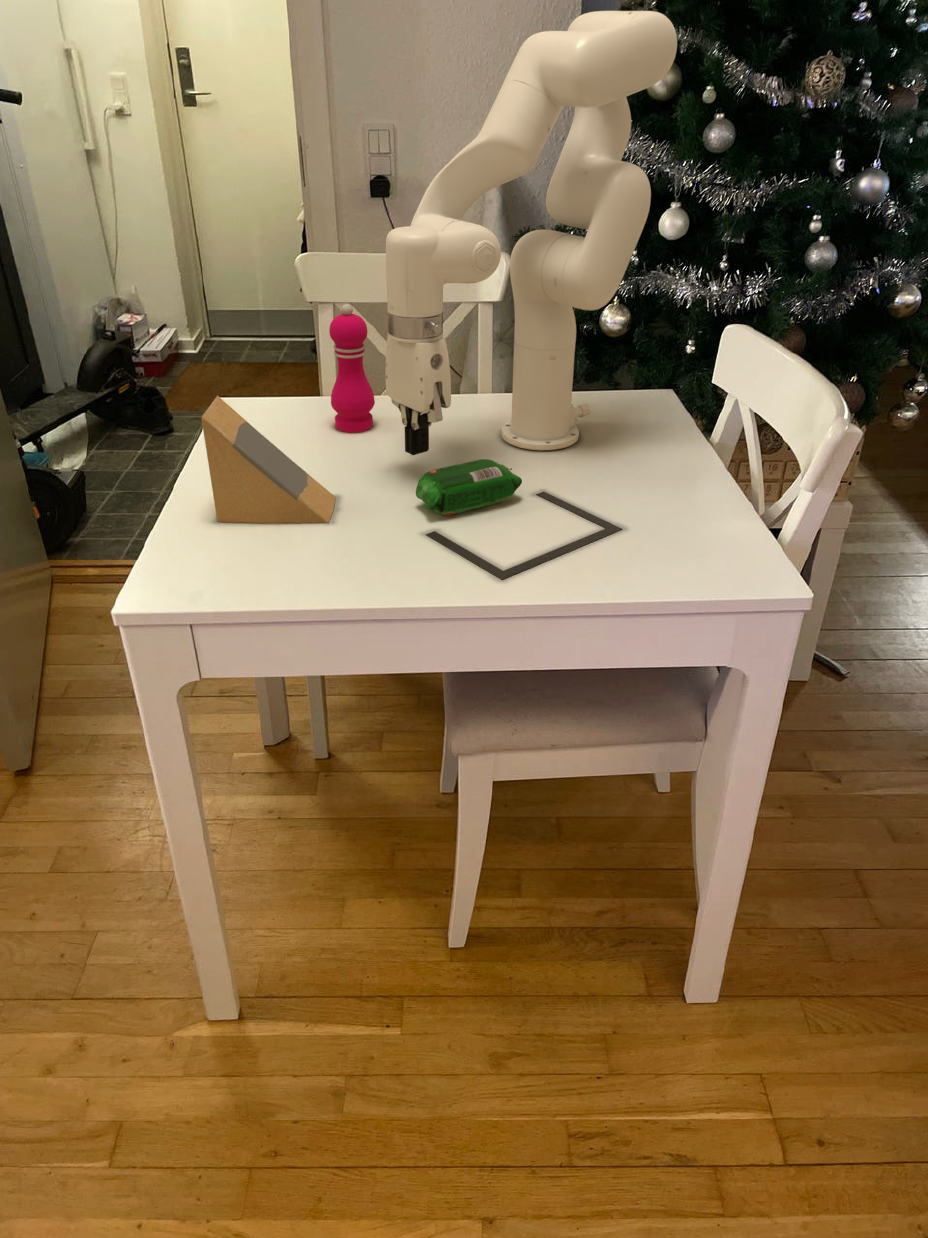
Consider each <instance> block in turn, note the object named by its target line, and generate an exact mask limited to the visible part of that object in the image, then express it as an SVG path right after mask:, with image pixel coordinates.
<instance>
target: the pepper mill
mask: <svg viewBox="0 0 928 1238" xmlns="http://www.w3.org/2000/svg"><path fill="white" fill-rule="evenodd" d="M353 312H354V308H353V306H352V305H351V304H349V303H344V304H343V305H342V306H341V314H338V315H336V316H335V317H334V318H333V319H332V320H331V322H330V325H329V328H328V329H329V331H328V332H329V333H328V334H329V336H330V339H331V340H332V341H333V343H334V345H333V349H334V352H333V354H334V356H336V359H337V376H336V379H335V382H334V384H333V387H332V389H331V393H330V406H331V408H332V409H333V410H334V412H336V413H337V414H336V415H335V416H334V422H335V423H334V424H335V428H336V430H338V431H340V432H343V433H350V434H351V433H353V434H354V433H355V434H356V433H362V432H366V431H368V430H370V429H372V428H373V426H374V418H373V417H374V416H373V414H372V413H371V411H372V410H373V408H374V406H375V405H376V401H375V400H376V399H375V394H374V390H373V388H372V385H371V384H370V382H369V380H368V379H367V378H368V377H367V376H366V372H365V369H364V356H365V355H366V350H365V349H366V345H365V344H364V343H365V341H366V339H367V337H368V326H367V323H366V322H365V320H364V319H363V318H362V316H361V315H358V314H356V313H353Z"/></svg>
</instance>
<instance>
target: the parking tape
mask: <svg viewBox="0 0 928 1238" xmlns="http://www.w3.org/2000/svg"><path fill="white" fill-rule="evenodd" d="M536 496H538V497H540V498H541V499H544V500H546V501H548V502H551V503H552V504H554V505H556V506H559V507H561V508H563V509H565V510H567V511H569V512H570V513H573V514H575V515H577V516H580V517H581V518H583V519H586V520H587V521H590V522H592V523H594V524H596V525H598V526H600V527H602V528H603V529H600V530H598V531H596V532H593V533H590V534H589V535H586V536H584V537H582V538H579V539H577V540H575V541H572V542H570V543H567V544H564V545H563V546H559V547H557V548H555V549H552V550H549V551H548V552H545V553H542V554H540V555H538V556H536V557H533V558H531V559H528V560H525V561H523V562H521V563H518V564H515V565H514V566H511V567H509V568H506V569H504V570H503V569H501V568H499V566H496V565H494V564H492V563H491V562H490V561H487V560H486V559H484V558H482V557H481V556H479V555H477V554H475V553H473V552H472V551H471V550H468V549H466V548H465V547H463V546H462V545H460V544H458V543H456V542H454V541H453V540H452V539H449V538H448V537H446V536H444V535H442V534H441V533H439V532H437V531H435V530H433V531H431V532H428V533H425V536H426V537H428V538H430V539H432V540H434V541H435V542H437V543H439V544H440V545H442V546H443V547H446V548H447V549H449V550H451V551H452V552H454V553H456V554H458V555H459V556H460V557H463V558H464V559H466V560H468V561H469V562H471V563H472V564H474V565H476V566H478V567H480V568H481V569H483V571H486V572H488V573H489V574H491V575H493V576H495V577H496V578H498V579H500V580H501V581H503V580H506V579H508V578H510V577H513V576H515V575H517V574H521V573H522V572H524V571H527V570H530V569H532V568H534V567H537V566H539V565H541V564H543V563H546V562H548V561H552V560H553V559H555V558H558V557H561V556H563V555H565V554H567V553H570V552H572V551H575V550H577V549H580V548H582V547H584V546H586V545H589V544H591V543H593V542H594V543H595V542H596V541H599V540H600V539H603V538H606V537H608V536H610V535H613V534H616V533H617V532H620V531H622V530H623V528H622V527H619V526H618V525H616V524H613V523H611V522H610V521H607V520H606V519H603V518H601V517H599V516H597V515H594V514H593V513H591V512H589V511H586V510H584V509H582V508H580V507H578V506H575V505H573V504H571V503H570V502H568V501H566V500H563V499H561V498H559V497H556V496H554V495H553V494H551V493H548V492H546V491H541V492H538V493H536Z"/></svg>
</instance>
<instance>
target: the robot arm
mask: <svg viewBox="0 0 928 1238" xmlns="http://www.w3.org/2000/svg"><path fill="white" fill-rule="evenodd" d="M677 49H678V36H677V31H676V28H675V27H674V24H673V22H672V21H671V20H670V19H669V18H668V16H666V15H665V14H664V13H661V12H658V11H653V10H598V11H589V12H586V13H582V14H581V15H578V16H577V17H576V18H575V19H574V20H573V21H572V22H571V23H570V25H569V26H568V28H567V30H545V31H540V32H536V33H534V34H532V35H530V36H528V38H526V39H525V40H524V42H523V43H522V44H521V46H520V48H519V50H518V51H517V53H516V55H515V57H514V59H513V61H512V64H511V65H510V68H509V70H508V72H507V74H506V76H505V78H504V81H503V82H502V85H501V87H500V88H499V91H498V94H497V95H496V97H495V99H494V101H493V104H492V106H491V108H490V110H489V112H488V114H487V116H486V118H485V121H484V122H483V125H482V127H481V128H480V130H479V133H478V134H477V135H476V137H475V138H473V140H472V141H470V142H469V143H468V144H466V146H464V147H463V148H462V149H461V150H459V152H458V153H457V154H456V155H455V156H454V157H453V158H452V159H451V160H449V162H448V163H447V164H445V166H444V167H442V169H441V170H440V171H439V172H438V173H437V174H436V175H435V177H434V178H433V179H432V180H431V182H430V184H429V185H428V186H427V188H426V190H425V192H424V194H423V196H422V198H421V200H420V202H419V204H418V206H417V208H416V210H415V213H414V215H413V218H412V220H411V223H410V225H408V226H399V227H396V228H393V229H391V230H390V231H389V232H388V233H387V235H386V238H385V268H386V300H387V301H386V302H387V338H386V348H385V364H384V365H385V367H384V369H385V372H384V374H385V377H384V378H385V389H386V394H387V396H388V397H389V398H390V399H391V403H392V404H393V405H394V406H395V407H396V408H398V410H399V412H400V416H401V417H400V418H401V423H402V425H403V426H404V452H405V453H407V454H409V455H411V456H416V455H420V454H423V453H427V452H429V450H430V427H431V426H432V423H433V424H434V423H438V422H442V421H443V419H444V416H443V409H448V408H450V407H451V405H452V381H451V380H452V377H451V365H450V357H449V356H450V355H449V350H448V345H447V340H446V338H445V337H443V336H444V323H443V322H444V285H447V284H465V285H467V284H477V283H480V282H483V281H485V280H487V279H488V278H490V277H491V276H492V275H493V274H494V273H495V272H496V270H497V269H498V267H499V265H500V262H501V258H502V248H501V243H500V241H499V239H498V237H497V236H496V235H495V234H494V233H493V231H492V230H490V229H489V228H487V227H485V226H483V225H481V224H478V223H473V222H469V221H465V220H462V219H463V217H464V215H465V214H466V213H467V212H468V210H469V208H470V207H471V206H472V205H473V204H474V203H475V202H476V201H477V200H478V199H479V198H480V197H482V196H483V195H485V194H486V193H488V192H489V191H491V190H492V189H495V188H497V187H500V186H503V185H504V184H506V183H507V184H508V183H509V182H511V181H513V180H516V179H518V178H520V177H522V176H524V175H526V174H527V173H530V171H532V170H533V169H534V167H535V166H536V165H537V162H538V160H539V159H540V156H541V154H542V152H543V150H544V147H545V146H546V144H547V141H548V139H549V137H550V135H551V133H552V131H553V129H554V126H555V125H556V122H557V121H558V119H559V117H560V114H562V113H561V112H562V110H563V109H564V108H565V107H573V108H574V113H573V118H572V123H571V126H570V128H569V132H568V135H567V137H566V140H565V142H564V145H563V147H562V149H561V152H560V155H559V158H558V160H557V163H556V165H555V168H554V170H553V173H552V175H551V179H550V181H549V184H548V187H547V190H546V195H545V207H546V210H547V213H548V215H549V216H550V218H552V219H553V220H554V221H556V222H558V223H559V224H560V223H561V224H562V225H565V226H568V227H573V228H577V229H581V230H586V231H587V232H586V234H585V236H580V235H576V234H574V233H573V234H572V233H567V232H564V231H558V230H553V229H534V230H532V231H529V232H527V233H525V234H524V235H522V236H521V237H520V238H519V239H518V240H517V241H516V243H515V245H514V247H513V249H512V251H511V254H510V259H509V275H510V276H509V277H510V284H511V292H512V296H513V309H514V335H513V340H514V341H513V360H512V361H513V364H512V390H511V392H512V393H511V395H512V396H511V420H509V421H508V422H506V423H504V424H503V425H502V427H501V438H502V439H503V440H504V441H505V442H506V443H508V444H509V445H511V446H514V447H516V448H520V449H525V450H530V451H554V450H561V449H565V448H568V447H571V446H573V445H574V444H576V443H577V441H578V440H579V437H580V430H579V429H578V427H577V426H576V425H575V422H576V421H577V420H578V418H579V419H580V418H584V417H587V416H589V415H590V413H591V407H590V405H589V404H588V403H583V404H581V405H577V406H574V405H573V404H572V396H573V383H574V370H575V352H576V341H577V323H576V322H577V321H576V316H575V312H574V308H575V309H579V310H582V311H597V310H599V309H601V308H603V307H605V306H606V305H607V304H608V303H609V302H610V301H611V300H612V299H613V298H614V296H615V294H616V293H617V291H618V289H619V287H620V285H621V282H622V280H623V278H624V276H625V274H626V271H627V268H628V266H629V264H630V262H631V260H632V257H633V254H634V252H635V249H636V247H637V245H638V242H639V240H640V238H641V235H642V233H643V230H644V227H645V225H646V222H647V219H648V216H649V213H650V207H651V199H652V189H651V184H650V180H649V178H648V176H647V174H646V172H645V171H644V169H642V168H641V167H640V166H638V165H636V164H635V163H632V162H629V161H623V160H622V159H623V157H624V154H625V151H626V148H627V146H628V143H629V139H630V135H631V130H632V114H631V110H630V105H629V102H628V97H629V96H631V95H633V94H636V93H639V92H641V91H643V90H646V89H648V88H651V87H652V86H655V85H657V84H658V83H659V82H660V81H662V80H663V79H664V77H665V76H666V75H667V74H668V73H669V71H670V70H671V68H672V66H673V64H674V61H675V59H676V55H677ZM442 408H443V409H442Z"/></svg>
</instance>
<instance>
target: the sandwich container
mask: <svg viewBox="0 0 928 1238" xmlns="http://www.w3.org/2000/svg"><path fill="white" fill-rule="evenodd" d="M208 406H209V407H207V409H206V410H205V412H204V413H203V414H202V416H201V424H202V425H201V426H202V431H203V437H204V444H205V451H206V457H207V458H206V459H207V463H208V464H207V465H208V469H209V478H210V483H211V490H212V494H213V501H214V508H215V509H214V510H215V515H216V521H217V522H218V523H248V524H249V523H250V524H321V523H322V524H329V523H330V520H331V518H332V515H333V514H334V510H335V504H336V499H337V498H336V496H335V495H334V494H333V493H332V492H330V491H329V490H328V489H327V488H326V487H324V486H323V485H322V484H321V483H320V482H318V480H316V479H315V478H314V477H313V476H312V475H310V474H309V473H308V472H306V471H305V470H304V469H303V468H302V467H300V466H299V464H297V463H296V462H295V461H293V460H292V459H291V458H290V457H289V456H287V455H286V454H285V453H284V451H282V450H280V448H278V447H277V446H276V445H275V444H274V443H272V442H271V441H270V440H269V439H268V438H267V437H266V436H265V435H263V434H262V433H260V431H258V430H257V429H256V428H255V427H254V426H253V425H252V424H251V423H249V422H248V420H246V419H245V418H244V417H243V416H242V415H240V413H238V412H237V411H236V410H235V409H234V408H232V406H230V405H229V404H228V403H227V402H226V401H225V400H223V398H221V397H220V396H219V395H216V397H215V398H214V399H213V401H212V402H211V404H210V405H208Z"/></svg>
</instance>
